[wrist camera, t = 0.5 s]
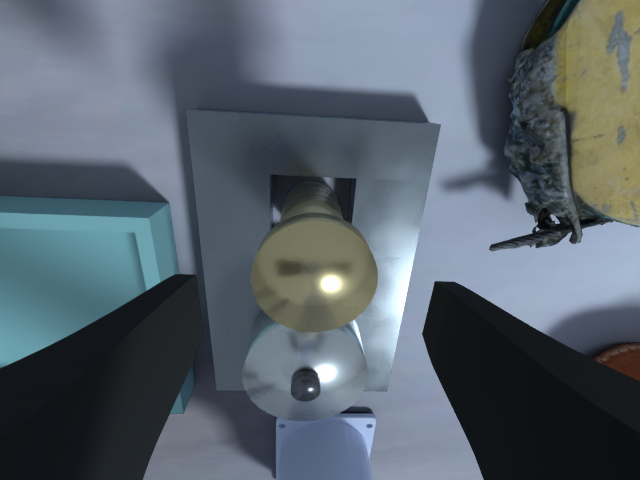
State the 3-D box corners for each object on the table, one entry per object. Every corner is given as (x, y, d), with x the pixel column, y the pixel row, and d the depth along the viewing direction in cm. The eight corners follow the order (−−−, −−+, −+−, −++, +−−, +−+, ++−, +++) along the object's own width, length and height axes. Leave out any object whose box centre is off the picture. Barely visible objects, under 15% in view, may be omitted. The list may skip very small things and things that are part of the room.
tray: (195, 383, 23) (183, 413, 21) (-5, 381, 23) (-39, 413, 20) (169, 202, 18) (148, 218, 15) (-100, 191, 17) (-163, 206, 15)
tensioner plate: (382, 374, 24) (402, 444, 19) (221, 373, 23) (199, 445, 18) (429, 122, 16) (480, 132, 12) (195, 108, 16) (147, 113, 11)
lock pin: (345, 244, 19) (369, 333, 12) (273, 241, 19) (252, 331, 12) (352, 172, 17) (386, 225, 10) (272, 168, 17) (248, 220, 10)
